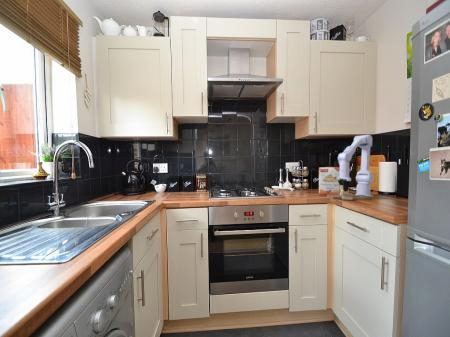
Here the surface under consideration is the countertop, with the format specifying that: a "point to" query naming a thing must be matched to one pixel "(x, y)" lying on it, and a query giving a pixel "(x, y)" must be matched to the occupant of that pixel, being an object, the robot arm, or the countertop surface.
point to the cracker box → (329, 180)
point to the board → (355, 197)
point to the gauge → (345, 194)
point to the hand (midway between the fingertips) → (344, 190)
